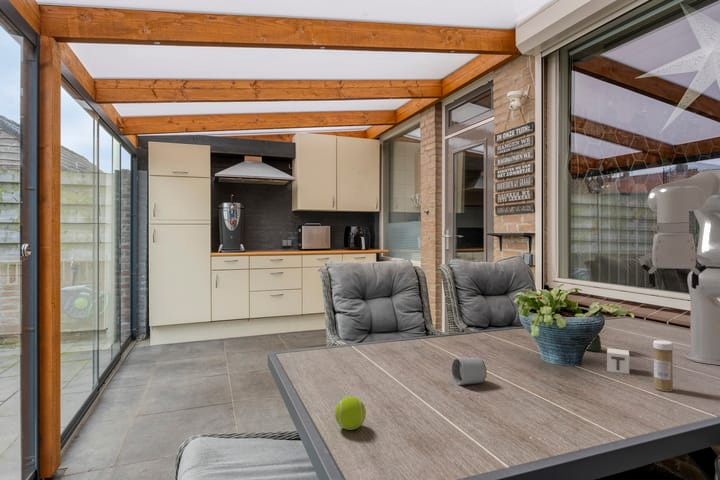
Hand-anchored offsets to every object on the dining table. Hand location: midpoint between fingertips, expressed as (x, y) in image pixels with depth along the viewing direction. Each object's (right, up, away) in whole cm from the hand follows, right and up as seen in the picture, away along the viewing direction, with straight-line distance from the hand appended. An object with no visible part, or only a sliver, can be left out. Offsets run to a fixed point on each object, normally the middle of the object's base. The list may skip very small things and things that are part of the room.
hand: (673, 287), depth 126 cm
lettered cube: (-9, -28, +12) cm, 32 cm away
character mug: (-5, -28, +35) cm, 45 cm away
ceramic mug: (-60, -29, +2) cm, 67 cm away
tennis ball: (-94, -29, -28) cm, 103 cm away
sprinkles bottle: (-7, -28, -5) cm, 30 cm away
